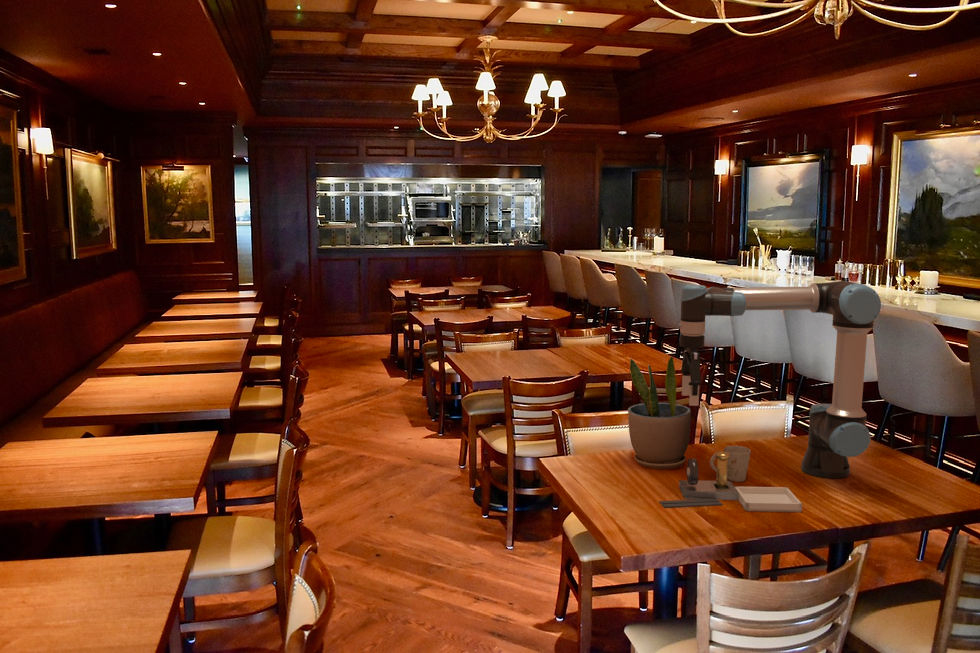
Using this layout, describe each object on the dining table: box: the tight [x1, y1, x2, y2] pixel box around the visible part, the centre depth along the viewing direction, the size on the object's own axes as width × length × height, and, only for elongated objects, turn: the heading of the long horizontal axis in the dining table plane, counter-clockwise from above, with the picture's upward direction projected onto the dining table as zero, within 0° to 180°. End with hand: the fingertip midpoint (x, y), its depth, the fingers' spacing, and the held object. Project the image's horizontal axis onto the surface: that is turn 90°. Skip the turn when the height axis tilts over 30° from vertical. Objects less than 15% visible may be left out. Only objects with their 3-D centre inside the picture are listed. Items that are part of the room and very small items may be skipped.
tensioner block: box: [678, 458, 739, 501], centre depth 245 cm, size 16×10×11 cm, turn 87°
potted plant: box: [627, 355, 692, 470], centre depth 274 cm, size 21×22×40 cm
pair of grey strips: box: [658, 499, 723, 509], centre depth 238 cm, size 18×5×1 cm, turn 97°
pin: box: [715, 451, 730, 489], centre depth 245 cm, size 4×4×13 cm
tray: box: [735, 486, 803, 513], centre depth 238 cm, size 16×14×2 cm
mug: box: [709, 445, 751, 483], centre depth 260 cm, size 8×13×10 cm, turn 78°
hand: (689, 400), depth 253 cm, fingers open, 13 cm apart
